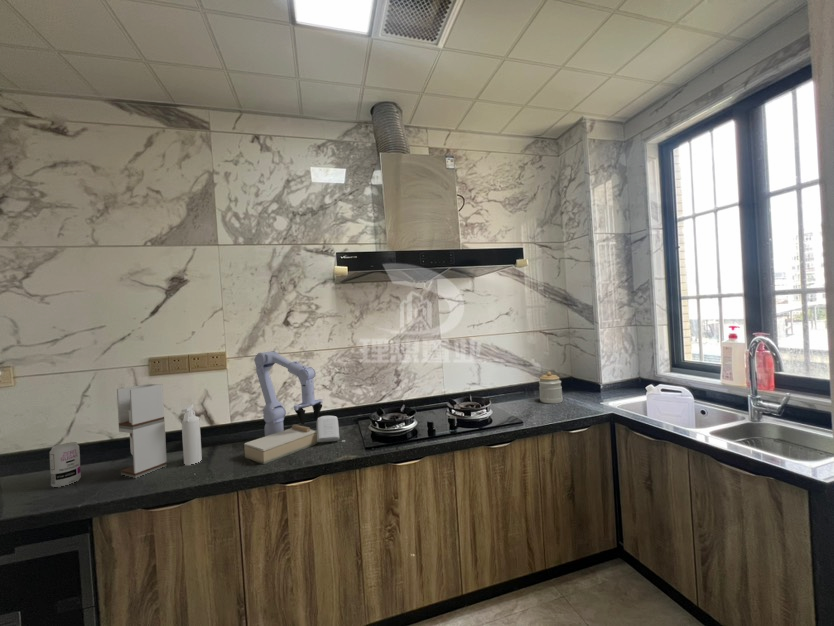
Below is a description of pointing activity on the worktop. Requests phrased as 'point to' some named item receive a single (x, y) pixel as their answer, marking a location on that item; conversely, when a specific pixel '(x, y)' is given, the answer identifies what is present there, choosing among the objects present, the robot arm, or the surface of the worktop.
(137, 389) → the white wood-trimmed shelf
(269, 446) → the sliding box lid
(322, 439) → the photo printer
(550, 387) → the jar
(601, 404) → the worktop surface
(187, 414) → the fire extinguisher
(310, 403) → the robot arm
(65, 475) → the supplement can
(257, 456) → the box
